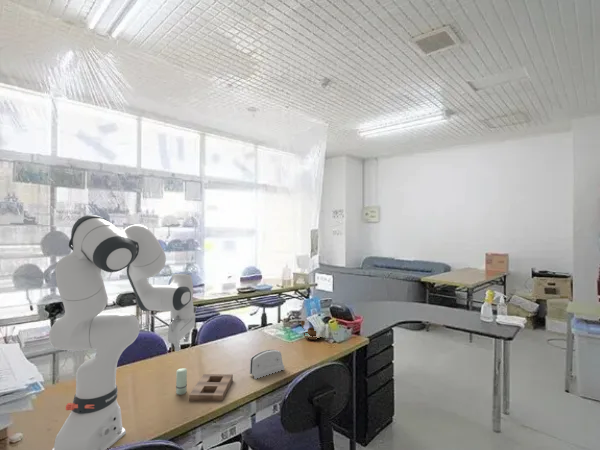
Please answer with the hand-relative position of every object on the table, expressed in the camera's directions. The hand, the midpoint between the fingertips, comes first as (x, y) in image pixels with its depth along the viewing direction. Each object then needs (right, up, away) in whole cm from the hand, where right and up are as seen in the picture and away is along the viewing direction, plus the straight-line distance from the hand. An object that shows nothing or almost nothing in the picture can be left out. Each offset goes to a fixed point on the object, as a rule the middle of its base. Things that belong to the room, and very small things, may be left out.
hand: (182, 345), depth 137 cm
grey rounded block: (+33, -20, +18) cm, 43 cm away
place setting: (+57, -20, +73) cm, 94 cm away
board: (+12, -19, +1) cm, 22 cm away
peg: (0, -19, 0) cm, 19 cm away
